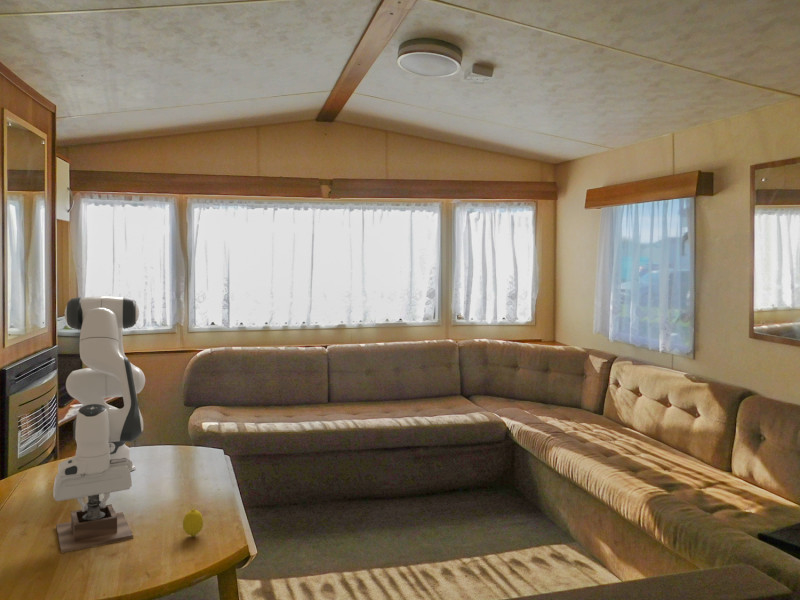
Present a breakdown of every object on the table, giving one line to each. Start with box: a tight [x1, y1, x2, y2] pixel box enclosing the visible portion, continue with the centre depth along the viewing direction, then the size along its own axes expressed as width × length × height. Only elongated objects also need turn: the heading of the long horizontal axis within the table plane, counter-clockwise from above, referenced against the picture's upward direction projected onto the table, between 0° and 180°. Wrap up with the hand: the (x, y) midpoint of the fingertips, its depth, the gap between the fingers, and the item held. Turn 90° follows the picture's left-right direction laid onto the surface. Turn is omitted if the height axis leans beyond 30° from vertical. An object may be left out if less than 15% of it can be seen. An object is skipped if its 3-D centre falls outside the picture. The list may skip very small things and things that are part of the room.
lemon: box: [182, 508, 204, 537], centre depth 181 cm, size 6×6×8 cm
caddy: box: [55, 504, 134, 554], centre depth 181 cm, size 18×18×6 cm
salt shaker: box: [83, 494, 105, 522], centre depth 181 cm, size 6×6×12 cm
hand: (93, 509), depth 181 cm, fingers closed on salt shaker, 3 cm apart
